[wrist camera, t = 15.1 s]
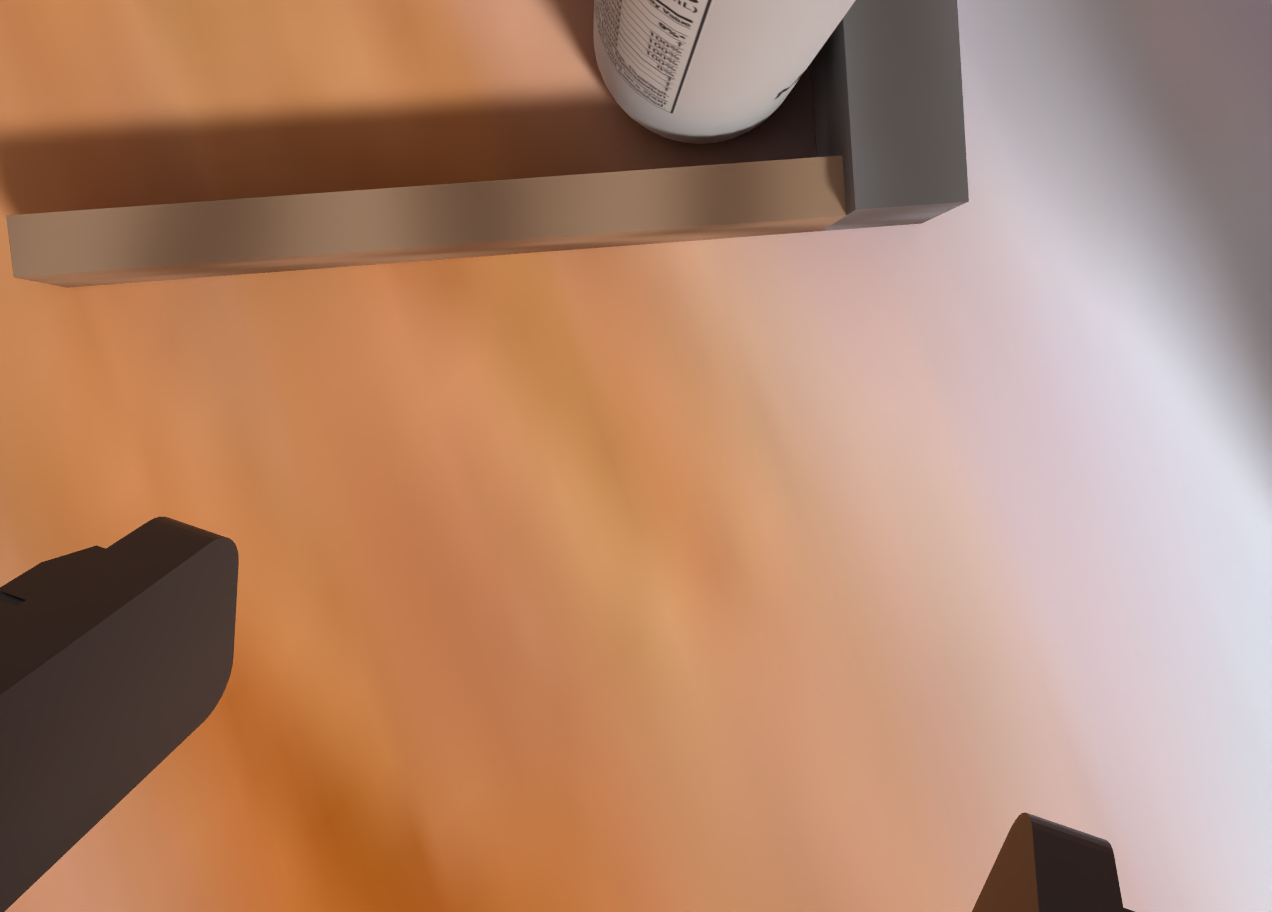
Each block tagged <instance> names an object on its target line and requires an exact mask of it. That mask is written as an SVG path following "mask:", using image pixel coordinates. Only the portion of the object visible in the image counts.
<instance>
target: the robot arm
mask: <svg viewBox="0 0 1272 912" xmlns="http://www.w3.org/2000/svg"><path fill="white" fill-rule="evenodd" d="M237 581H238V550H237V547H236V545H235V543H234V542H233V541H232V540H231V539H229V538H226V537H223V536H220V535H218V534H215V533H212V532H209V531H206V530H203V529H200V528H197V527H194V526H191V525H188V524H185V523H182V522H179V521H177V520H174V519H171V518H167V517H157V518H154V519H152V520H150V521H148V522H147V523H145V524H144V525H142V526H141V527H139V528H137V529H136V530H134V531H133V532H131V533H130V534H128V535H127V536H125V537H124V538H122V539H120V540H119V541H117V542H116V543H114V544H113V545H111V546H110V547H108V548H106V549H105V548H102V547H99V546H94V547H90V548H87V549H84V550H81V551H77V552H74V553H71V554H68V555H64V556H61V557H58V558H55V559H51V560H48V561H45V562H41V563H40V564H38V565H36V566H35V567H33V568H32V569H30V570H28V571H27V572H25V573H23V574H22V575H20V576H18V577H17V578H15V579H14V580H12V581H10V582H9V583H7V584H5V585H4V586H2V587H0V912H4V911H6V910H7V909H8V908H9V907H10V906H11V905H12V904H13V903H14V902H15V901H16V900H17V899H18V898H19V897H20V896H21V895H22V894H23V893H24V892H25V891H26V890H28V889H29V888H30V887H31V886H32V885H33V884H34V883H35V882H36V881H37V880H38V879H39V878H40V877H41V876H42V875H43V874H44V873H45V872H46V871H47V870H49V869H50V868H51V867H52V866H53V865H54V864H55V863H56V862H57V861H58V860H59V859H60V858H61V857H62V856H63V855H64V854H65V853H66V852H67V851H68V850H69V849H71V848H72V847H73V846H74V845H75V844H76V843H77V842H78V841H79V840H80V839H81V838H82V837H83V836H84V835H85V834H86V833H87V832H88V831H89V830H90V829H92V828H93V827H94V826H95V825H96V824H97V823H98V822H99V821H100V820H101V819H102V818H103V817H104V816H105V815H106V814H107V813H108V812H109V811H110V810H111V809H113V808H114V807H115V806H116V805H117V804H118V803H119V802H120V801H121V800H122V799H123V798H124V797H125V796H126V795H127V794H128V793H129V792H130V791H131V790H132V789H133V788H135V787H136V786H137V785H138V784H139V783H140V782H141V781H142V780H143V779H144V778H145V777H146V776H147V775H148V774H149V773H150V772H151V771H152V770H153V769H154V768H156V767H157V766H158V765H159V764H160V763H161V762H162V761H163V760H164V759H165V758H166V757H167V756H168V755H169V754H170V753H171V752H172V751H173V750H174V749H175V748H176V747H178V746H179V745H180V744H181V743H182V742H183V741H184V740H185V739H186V738H187V737H188V736H189V735H190V734H191V733H192V732H193V731H194V730H195V729H196V728H197V727H199V726H200V725H201V724H202V723H203V722H204V721H205V720H206V718H207V717H208V716H209V715H210V714H211V712H212V711H213V710H214V708H215V707H216V705H217V704H218V702H219V700H220V698H221V697H222V694H223V692H224V690H225V688H226V685H227V683H228V680H229V677H230V674H231V669H232V664H233V653H234V635H235V617H236V599H237ZM972 912H1134V911H1131V910H1129V909H1126V908H1123V904H1122V898H1121V893H1120V887H1119V881H1118V875H1117V870H1116V864H1115V858H1114V854H1113V849H1112V847H1111V845H1110V843H1109V842H1108V841H1107V840H1104V839H1101V838H1098V837H1095V836H1093V835H1090V834H1087V833H1084V832H1081V831H1078V830H1075V829H1072V828H1069V827H1066V826H1063V825H1060V824H1057V823H1054V822H1051V821H1049V820H1046V819H1043V818H1040V817H1037V816H1034V815H1031V814H1028V813H1022V814H1021V815H1019V817H1018V818H1017V819H1016V820H1015V822H1014V823H1013V825H1012V827H1011V829H1010V831H1009V833H1008V835H1007V837H1006V840H1005V842H1004V844H1003V846H1002V848H1001V850H1000V853H999V855H998V857H997V859H996V861H995V863H994V865H993V868H992V870H991V872H990V874H989V876H988V878H987V880H986V883H985V885H984V887H983V889H982V891H981V893H980V896H979V898H978V900H977V902H976V904H975V906H974V908H973V911H972Z"/></svg>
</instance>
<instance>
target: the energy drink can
mask: <svg viewBox="0 0 1272 912" xmlns="http://www.w3.org/2000/svg"><path fill="white" fill-rule="evenodd" d="M855 1H856V0H594V31H593V44H594V50H595V55H596V61H597V65H598V68H599V70H600V73H601V75H602V78H603V81H604V83H605V85H606V87H607V88H608V90H609V92H610V93H611V95H612V96H613V98H614V99H615V101H616V102H617V104H618V105H619V106H620V107H621V108H622V109H623V110H624V111H625V112H626V113H627V114H628V115H629V116H630V117H631V118H632V119H633V120H635V121H636V122H638V123H639V124H640V125H642V126H643V127H645V128H646V129H647V130H649V131H651V132H654V133H656V134H658V135H660V136H663V137H665V138H667V139H671V140H676V141H680V142H685V143H702V144H709V143H714V142H720V141H725V140H729V139H732V138H735V137H737V136H740V135H742V134H745V133H747V132H749V131H750V130H752V129H753V128H755V127H756V126H758V125H760V124H761V123H763V122H764V121H765V120H766V119H767V118H768V117H769V116H770V115H771V114H773V113H774V112H775V111H776V110H777V109H778V108H779V107H780V105H781V104H782V102H783V101H784V100H785V98H786V97H787V95H788V94H789V93H790V91H791V90H792V89H793V87H794V86H795V84H796V83H797V82H798V80H799V79H800V77H801V76H802V75H803V73H804V72H805V70H806V69H807V68H808V66H809V65H810V63H811V62H812V61H813V59H814V58H815V56H816V55H817V54H818V52H819V51H820V49H821V48H822V47H823V45H824V44H825V42H826V41H827V40H828V38H829V37H830V35H831V34H832V33H833V31H834V30H835V28H836V27H837V26H838V24H839V23H840V21H841V20H842V19H843V17H844V16H845V15H846V13H847V12H848V10H849V9H850V8H851V6H852V5H853V3H854V2H855Z"/></svg>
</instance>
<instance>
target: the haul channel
mask: <svg viewBox="0 0 1272 912" xmlns="http://www.w3.org/2000/svg"><path fill="white" fill-rule="evenodd" d="M811 73H812V88H813V103H814V118H815V133H816V147H817V157H813V158H799V159H785V160H771V161H757V162H743V163H729V164H715V165H701V166H688V167H674V168H660V169H646V170H632V171H618V172H604V173H590V174H576V175H562V176H548V177H534V178H521V179H507V180H493V181H479V182H465V183H451V184H437V185H423V186H409V187H395V188H381V189H367V190H354V191H340V192H326V193H312V194H298V195H284V196H270V197H256V198H242V199H228V200H214V201H200V202H187V203H173V204H159V205H145V206H131V207H117V208H103V209H89V210H75V211H61V212H47V213H33V214H20V215H6V217H7V226H8V234H9V242H10V251H11V259H12V268H13V276H14V278H20V279H25V280H30V281H36V282H41V283H46V284H52V285H57V286H62V287H78V286H91V285H105V284H118V283H131V282H145V281H158V280H171V279H185V278H198V277H211V276H225V275H238V274H251V273H265V272H278V271H291V270H305V269H318V268H331V267H345V266H358V265H372V264H385V263H398V262H412V261H425V260H438V259H452V258H465V257H478V256H492V255H505V254H518V253H532V252H545V251H558V250H572V249H585V248H599V247H612V246H625V245H639V244H652V243H665V242H679V241H692V240H705V239H719V238H732V237H745V236H759V235H772V234H785V233H799V232H812V231H825V230H839V229H852V228H866V227H879V226H892V225H906V224H919V223H923V222H925V221H928V220H930V219H932V218H934V217H936V216H938V215H940V214H943V213H945V212H947V211H949V210H951V209H953V208H955V207H958V206H960V205H962V204H964V203H966V202H968V201H969V199H968V182H967V164H966V147H965V130H964V113H963V96H962V79H961V62H960V44H959V27H958V10H957V0H856V1H855V2H854V3H853V5H852V6H851V8H850V9H849V10H848V12H847V13H846V15H845V16H844V17H843V19H842V20H841V21H840V23H839V24H838V26H837V27H836V28H835V30H834V31H833V33H832V34H831V35H830V37H829V38H828V40H827V41H826V42H825V44H824V45H823V47H822V48H821V49H820V51H819V52H818V54H817V55H816V56H815V58H814V59H813V61H812V62H811Z"/></svg>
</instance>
